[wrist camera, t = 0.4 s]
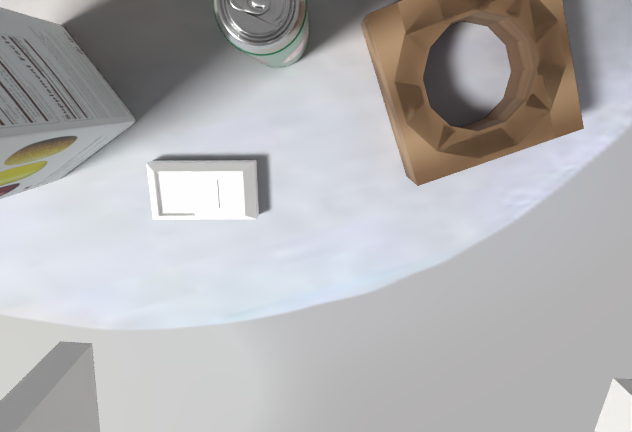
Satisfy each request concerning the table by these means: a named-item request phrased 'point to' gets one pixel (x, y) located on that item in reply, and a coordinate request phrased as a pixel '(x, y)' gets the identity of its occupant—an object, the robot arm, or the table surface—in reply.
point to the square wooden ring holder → (520, 96)
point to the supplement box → (49, 104)
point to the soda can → (265, 28)
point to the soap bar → (203, 189)
